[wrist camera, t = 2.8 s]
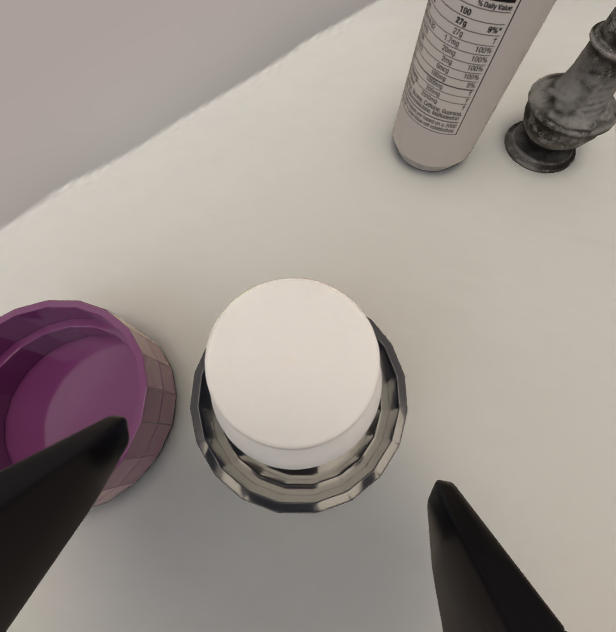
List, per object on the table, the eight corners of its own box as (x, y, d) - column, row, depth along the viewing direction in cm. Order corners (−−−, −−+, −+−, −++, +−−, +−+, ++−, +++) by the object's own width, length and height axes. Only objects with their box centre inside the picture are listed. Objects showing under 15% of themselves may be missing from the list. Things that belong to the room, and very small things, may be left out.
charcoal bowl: (277, 539, 17) (267, 570, 13) (184, 380, 20) (153, 366, 16) (422, 421, 19) (452, 417, 15) (319, 291, 22) (321, 259, 18)
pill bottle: (226, 407, 19) (123, 371, 9) (294, 328, 21) (279, 216, 10) (307, 482, 18) (305, 549, 7) (374, 392, 19) (452, 339, 9)
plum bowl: (31, 557, 17) (-49, 591, 13) (-30, 388, 20) (-110, 376, 16) (209, 431, 19) (185, 430, 15) (130, 294, 22) (93, 265, 18)
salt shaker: (544, 188, 25) (744, -22, 13) (485, 140, 26) (618, -84, 15) (594, 151, 26) (816, -71, 15) (534, 107, 27) (692, -124, 16)
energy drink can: (483, 159, 26) (697, -182, 11) (417, 188, 25) (561, -144, 11) (439, 108, 27) (576, -240, 13) (375, 133, 27) (450, -212, 12)
